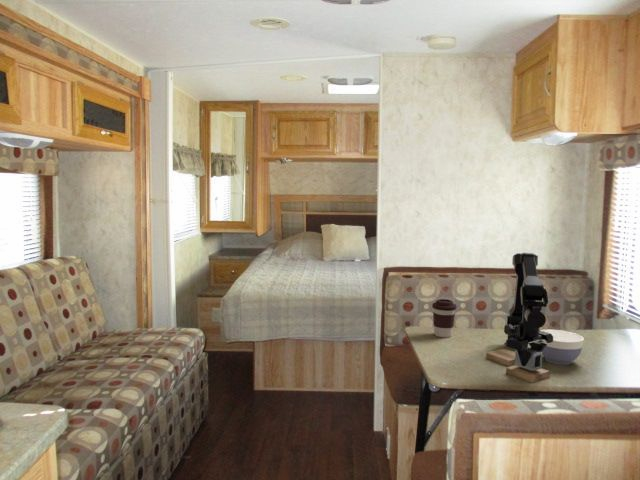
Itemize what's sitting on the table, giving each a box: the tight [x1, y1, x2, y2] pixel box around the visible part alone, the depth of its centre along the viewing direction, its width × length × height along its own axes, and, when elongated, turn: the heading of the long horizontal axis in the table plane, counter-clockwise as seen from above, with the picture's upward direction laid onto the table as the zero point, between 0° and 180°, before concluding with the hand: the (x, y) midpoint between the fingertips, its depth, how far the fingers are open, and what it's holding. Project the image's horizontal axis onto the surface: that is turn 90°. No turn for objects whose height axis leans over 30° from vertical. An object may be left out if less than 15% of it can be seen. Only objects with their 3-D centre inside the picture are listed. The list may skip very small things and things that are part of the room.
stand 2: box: [505, 365, 550, 384], centre depth 190 cm, size 10×10×2 cm
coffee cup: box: [431, 298, 458, 338], centre depth 234 cm, size 10×10×15 cm
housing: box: [514, 346, 543, 371], centre depth 189 cm, size 5×7×6 cm
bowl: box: [540, 329, 585, 366], centre depth 205 cm, size 16×16×10 cm
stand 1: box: [485, 348, 516, 367], centre depth 205 cm, size 10×10×2 cm
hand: (528, 364), depth 190 cm, fingers closed on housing, 5 cm apart
